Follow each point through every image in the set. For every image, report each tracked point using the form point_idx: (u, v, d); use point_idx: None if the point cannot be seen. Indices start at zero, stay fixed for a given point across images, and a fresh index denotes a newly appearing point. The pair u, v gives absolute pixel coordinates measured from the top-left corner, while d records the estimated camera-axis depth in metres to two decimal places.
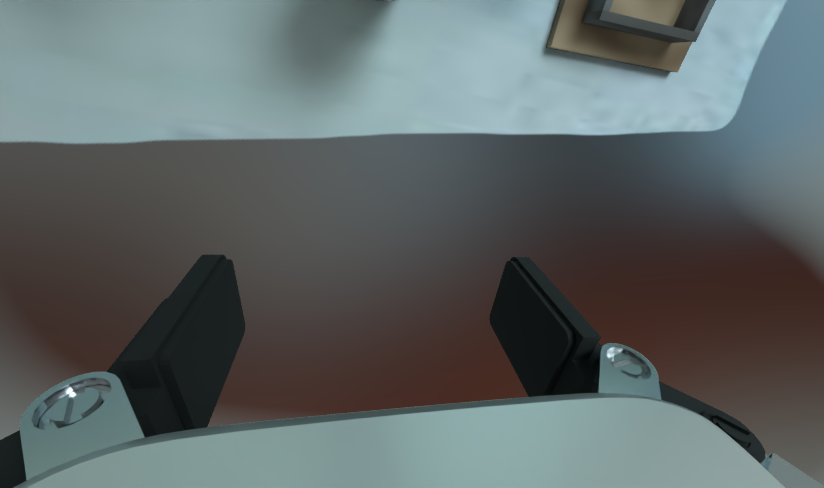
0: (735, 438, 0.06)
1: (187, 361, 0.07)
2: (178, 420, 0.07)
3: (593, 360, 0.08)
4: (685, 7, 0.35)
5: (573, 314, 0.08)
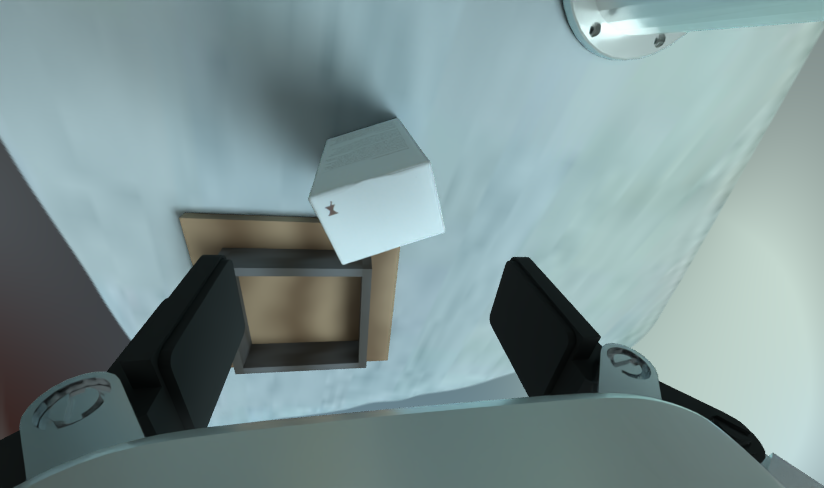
0: (735, 438, 0.06)
1: (187, 361, 0.07)
2: (178, 420, 0.07)
3: (593, 360, 0.08)
4: (276, 346, 0.33)
5: (573, 314, 0.08)
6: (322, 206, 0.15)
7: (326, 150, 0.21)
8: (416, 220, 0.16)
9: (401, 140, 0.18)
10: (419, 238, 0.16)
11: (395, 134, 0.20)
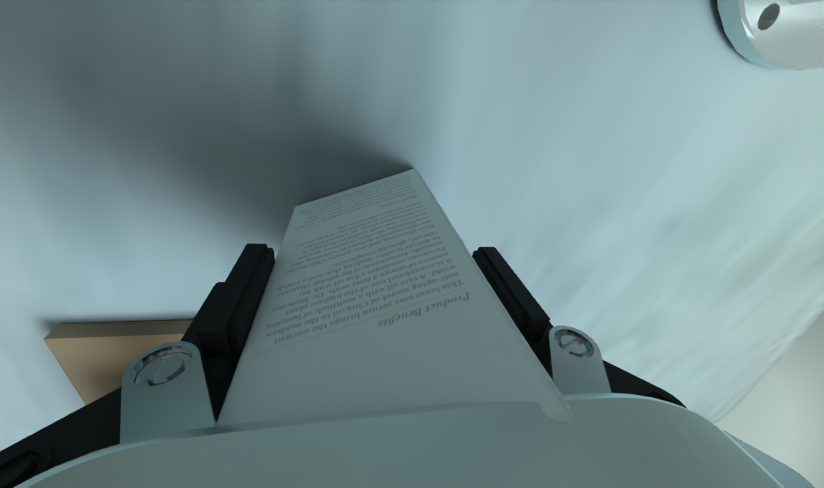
0: None
1: (246, 336, 0.08)
2: None
3: (544, 342, 0.08)
4: None
5: (527, 298, 0.09)
6: None
7: (286, 244, 0.11)
8: None
9: (440, 251, 0.08)
10: None
11: (421, 223, 0.10)
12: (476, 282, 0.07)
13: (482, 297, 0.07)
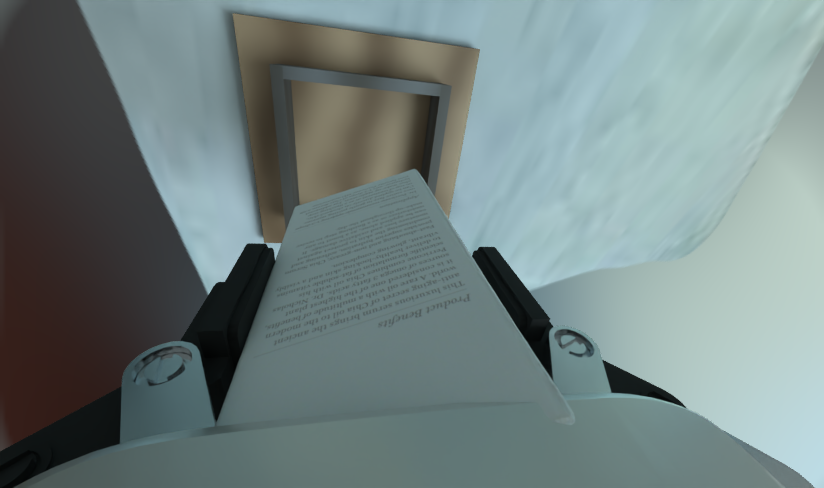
0: None
1: (246, 336, 0.08)
2: None
3: (544, 342, 0.08)
4: None
5: (527, 298, 0.09)
6: None
7: (286, 245, 0.11)
8: None
9: (440, 252, 0.08)
10: None
11: (421, 223, 0.10)
12: (477, 283, 0.07)
13: (483, 298, 0.07)
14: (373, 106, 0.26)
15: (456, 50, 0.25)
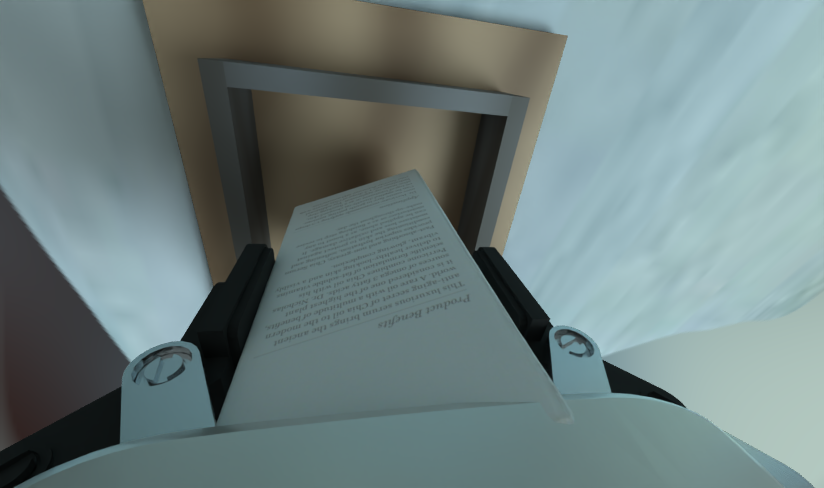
0: None
1: (246, 336, 0.08)
2: None
3: (544, 342, 0.08)
4: None
5: (527, 299, 0.09)
6: None
7: (286, 245, 0.11)
8: None
9: (440, 252, 0.08)
10: None
11: (421, 224, 0.10)
12: (477, 284, 0.07)
13: (483, 299, 0.07)
14: (390, 129, 0.16)
15: (530, 36, 0.15)
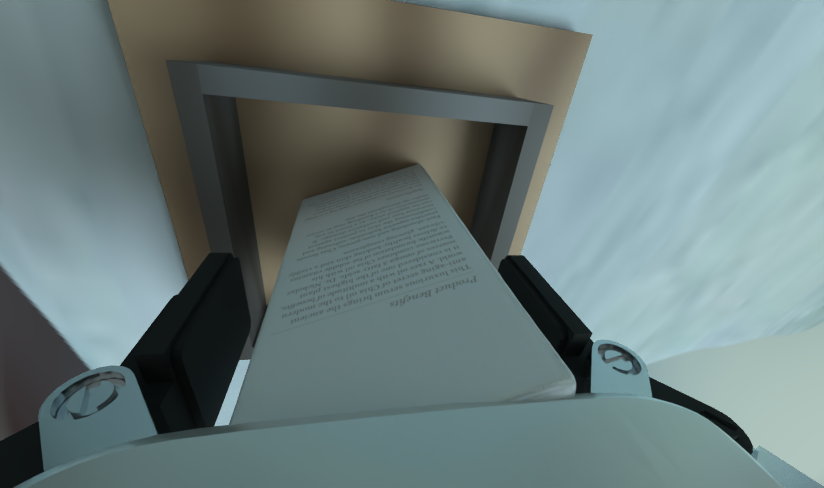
0: None
1: (197, 356, 0.07)
2: (189, 414, 0.07)
3: (585, 356, 0.08)
4: None
5: (565, 311, 0.08)
6: None
7: (296, 234, 0.11)
8: None
9: (447, 239, 0.09)
10: None
11: (428, 213, 0.10)
12: (482, 266, 0.07)
13: (489, 279, 0.07)
14: (392, 139, 0.14)
15: (551, 35, 0.13)
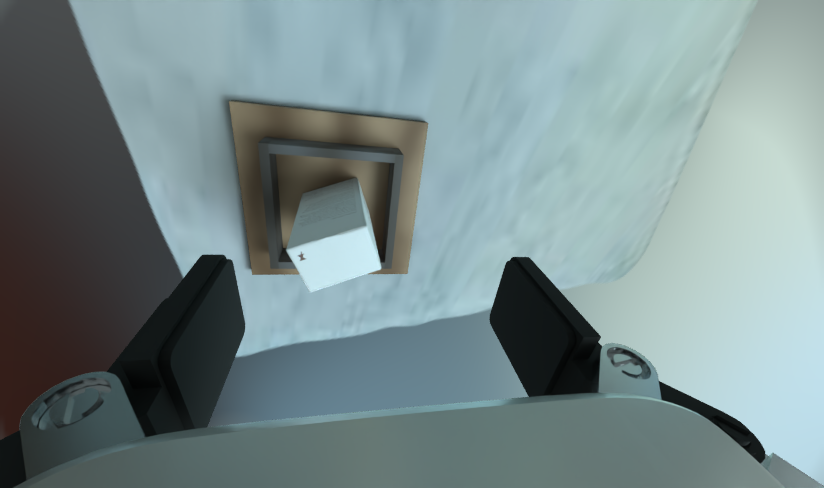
0: (735, 438, 0.06)
1: (187, 361, 0.07)
2: (178, 420, 0.07)
3: (593, 360, 0.08)
4: None
5: (573, 314, 0.08)
6: (295, 255, 0.22)
7: (301, 205, 0.29)
8: (360, 262, 0.23)
9: (353, 203, 0.26)
10: (363, 273, 0.24)
11: (351, 196, 0.28)
12: (359, 209, 0.25)
13: (359, 211, 0.24)
14: (343, 166, 0.32)
15: (409, 124, 0.31)
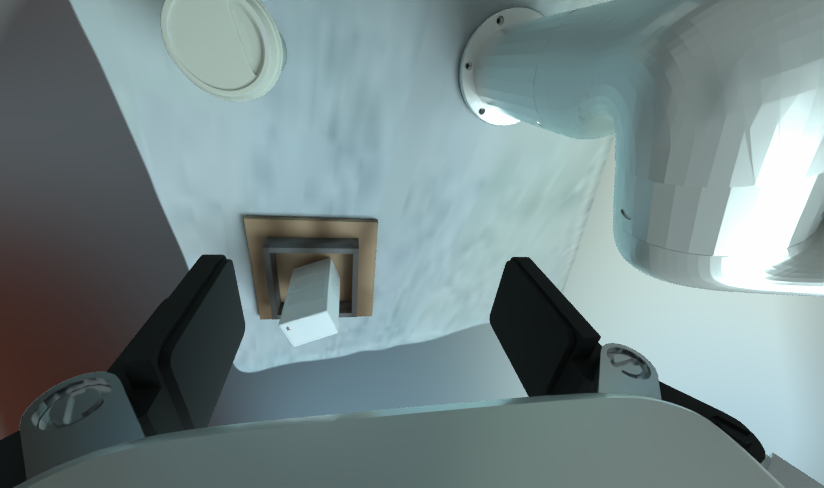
0: (735, 438, 0.06)
1: (187, 361, 0.07)
2: (178, 420, 0.07)
3: (593, 360, 0.08)
4: None
5: (573, 314, 0.08)
6: (284, 327, 0.37)
7: (291, 283, 0.43)
8: (324, 329, 0.38)
9: (322, 287, 0.41)
10: (326, 335, 0.39)
11: (322, 279, 0.42)
12: (325, 293, 0.39)
13: (324, 296, 0.39)
14: None
15: (364, 223, 0.45)
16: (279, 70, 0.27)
